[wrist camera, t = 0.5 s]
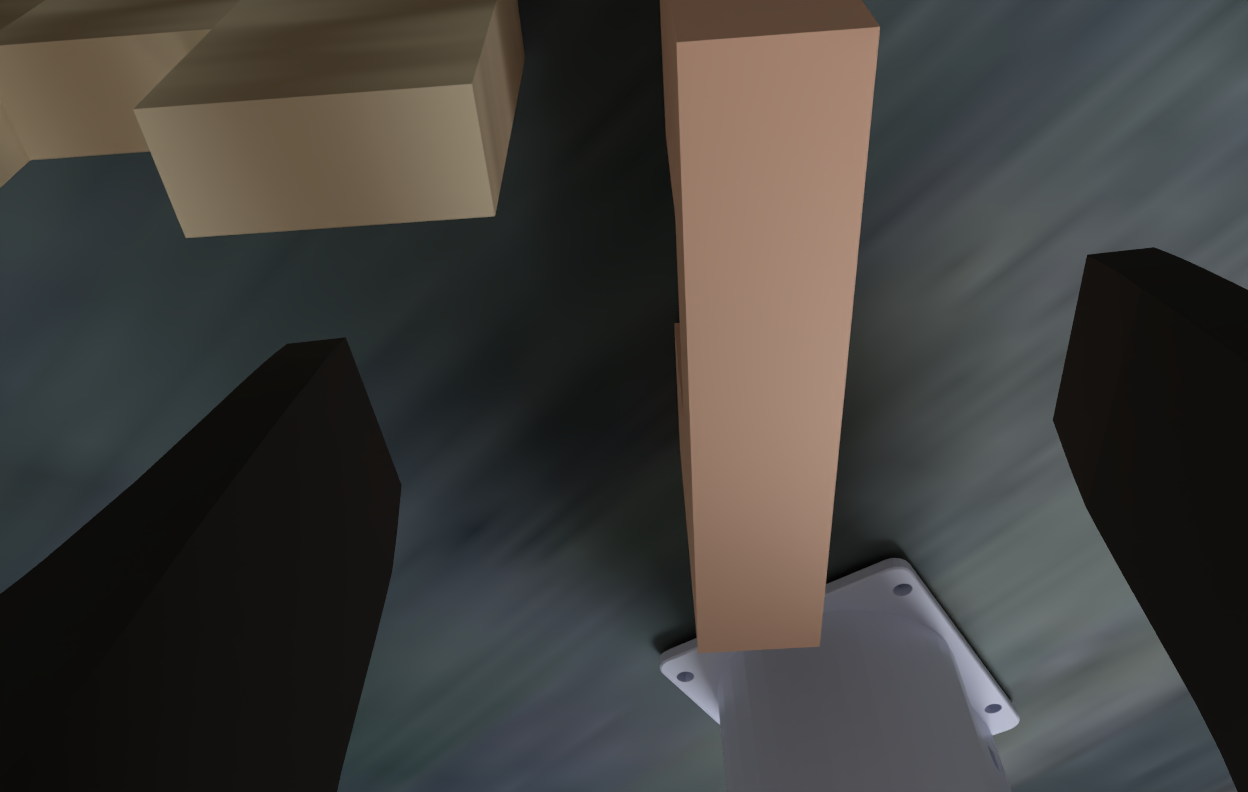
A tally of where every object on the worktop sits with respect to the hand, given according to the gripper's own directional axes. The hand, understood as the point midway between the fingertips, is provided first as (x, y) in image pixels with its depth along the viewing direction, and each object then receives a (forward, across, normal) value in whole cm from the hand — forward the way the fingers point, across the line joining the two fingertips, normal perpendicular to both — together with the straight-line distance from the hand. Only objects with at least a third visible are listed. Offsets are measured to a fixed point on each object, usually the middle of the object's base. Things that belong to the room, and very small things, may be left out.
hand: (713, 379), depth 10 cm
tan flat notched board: (+10, -1, +4) cm, 11 cm away
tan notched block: (+10, +8, -1) cm, 13 cm away
